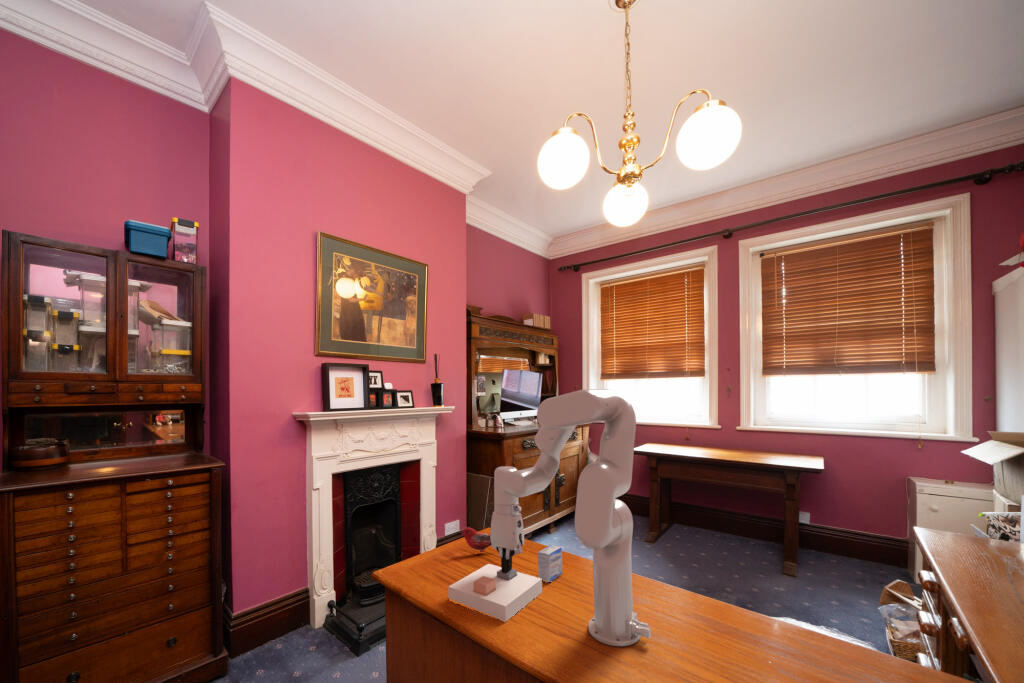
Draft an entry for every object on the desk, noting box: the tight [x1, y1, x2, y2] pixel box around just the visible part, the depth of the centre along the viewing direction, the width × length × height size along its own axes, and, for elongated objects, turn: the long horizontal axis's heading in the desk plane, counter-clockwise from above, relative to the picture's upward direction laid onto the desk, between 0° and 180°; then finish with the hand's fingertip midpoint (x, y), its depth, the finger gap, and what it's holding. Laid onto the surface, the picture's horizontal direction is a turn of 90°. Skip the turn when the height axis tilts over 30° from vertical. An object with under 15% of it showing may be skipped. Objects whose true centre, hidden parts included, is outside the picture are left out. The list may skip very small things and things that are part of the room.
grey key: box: [497, 568, 518, 581], centre depth 126 cm, size 4×4×3 cm
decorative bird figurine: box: [461, 526, 492, 552], centre depth 154 cm, size 3×18×10 cm, turn 107°
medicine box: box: [537, 544, 563, 583], centre depth 134 cm, size 8×4×9 cm, turn 143°
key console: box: [448, 563, 543, 623], centre depth 121 cm, size 20×19×4 cm
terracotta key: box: [474, 576, 496, 596], centre depth 117 cm, size 4×4×3 cm
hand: (506, 570), depth 126 cm, fingers closed
